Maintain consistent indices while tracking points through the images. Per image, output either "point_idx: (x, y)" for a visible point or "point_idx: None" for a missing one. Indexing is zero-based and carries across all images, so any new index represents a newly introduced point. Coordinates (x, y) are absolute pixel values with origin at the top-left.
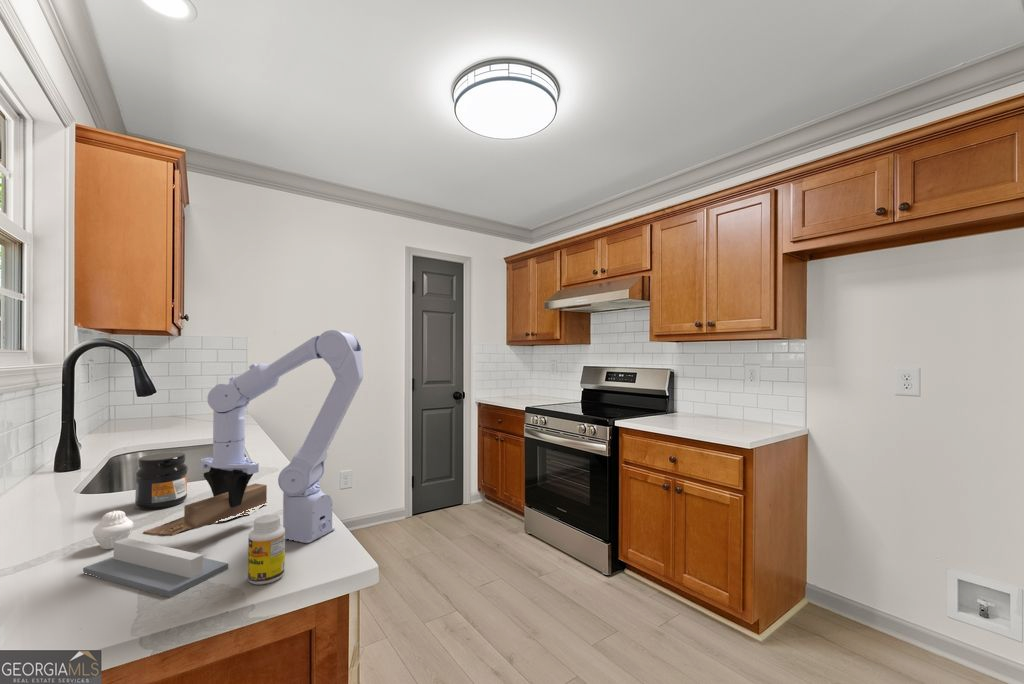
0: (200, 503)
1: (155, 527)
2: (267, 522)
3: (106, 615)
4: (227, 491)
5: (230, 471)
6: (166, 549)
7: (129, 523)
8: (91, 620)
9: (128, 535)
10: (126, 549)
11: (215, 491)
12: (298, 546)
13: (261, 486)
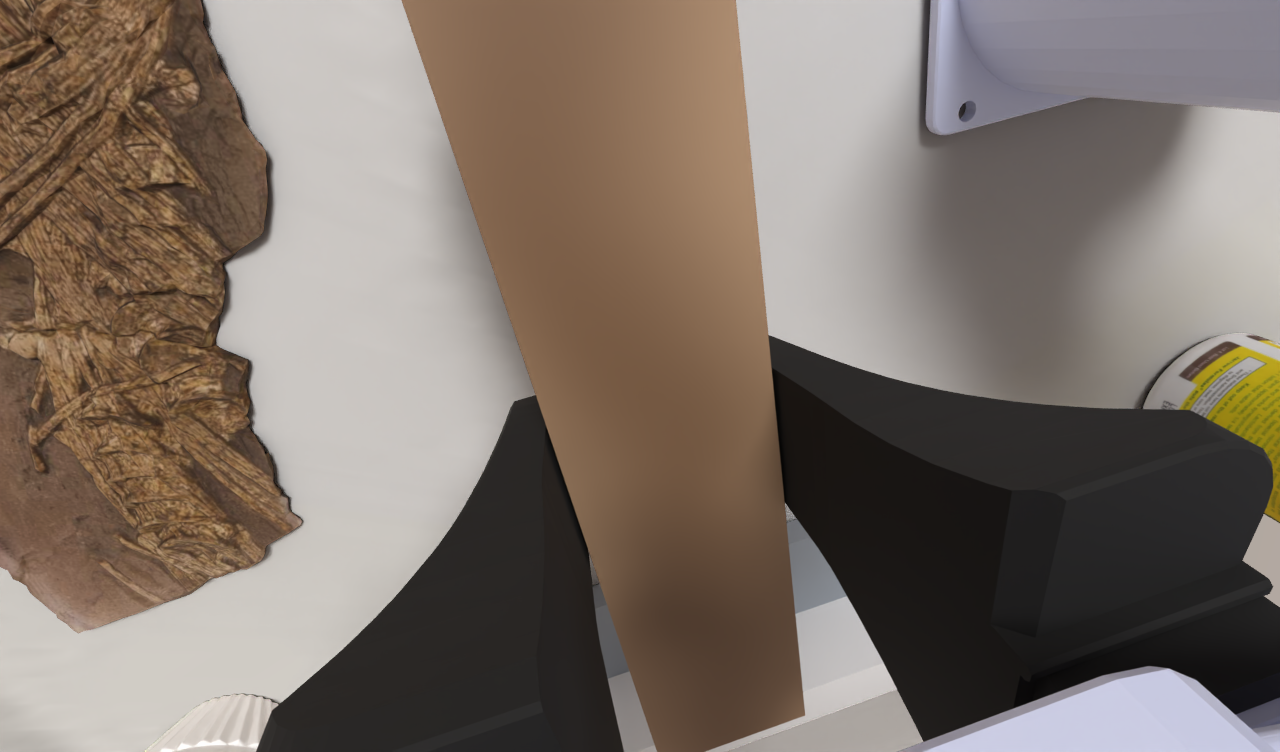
0: (721, 692)
1: (13, 576)
2: None
3: (900, 714)
4: (549, 457)
5: (558, 677)
6: (843, 689)
7: None
8: (890, 734)
9: (259, 729)
10: None
11: (595, 617)
12: (1164, 113)
13: None
